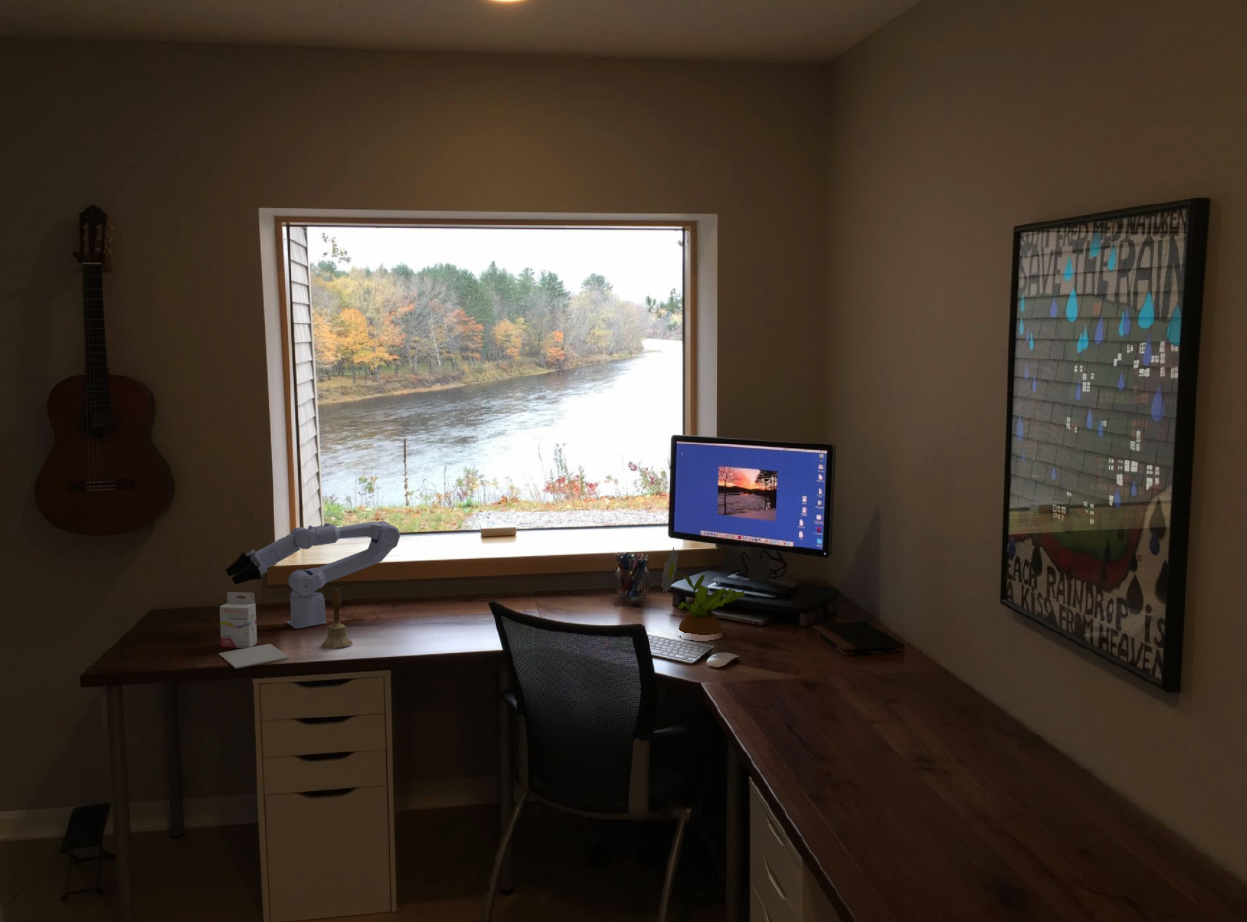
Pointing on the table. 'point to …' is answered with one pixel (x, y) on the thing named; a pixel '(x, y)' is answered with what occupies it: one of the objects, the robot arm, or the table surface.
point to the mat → (253, 656)
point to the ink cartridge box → (238, 621)
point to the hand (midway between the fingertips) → (230, 577)
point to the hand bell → (336, 626)
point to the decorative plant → (698, 602)
